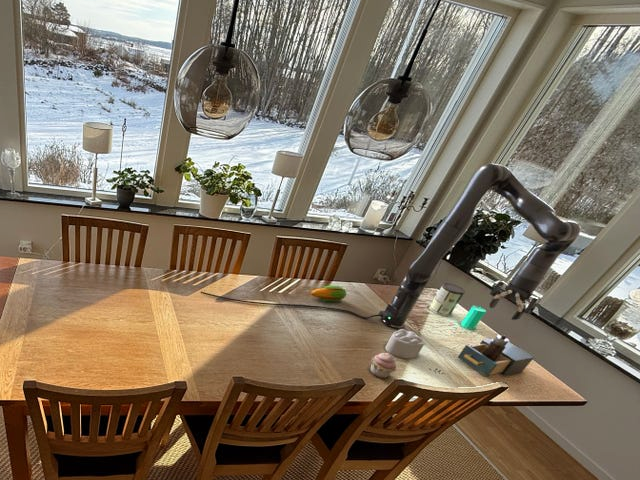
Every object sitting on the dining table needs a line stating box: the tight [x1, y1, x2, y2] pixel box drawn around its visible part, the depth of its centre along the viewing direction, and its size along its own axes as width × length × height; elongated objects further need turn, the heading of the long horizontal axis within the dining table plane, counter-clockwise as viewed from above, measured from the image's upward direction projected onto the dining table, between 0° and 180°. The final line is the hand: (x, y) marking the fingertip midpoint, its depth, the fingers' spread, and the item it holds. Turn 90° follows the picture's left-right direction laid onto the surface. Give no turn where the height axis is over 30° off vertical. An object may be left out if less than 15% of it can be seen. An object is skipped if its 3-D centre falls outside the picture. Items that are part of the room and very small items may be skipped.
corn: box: [310, 285, 347, 302], centre depth 203 cm, size 7×8×20 cm
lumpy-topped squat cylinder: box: [385, 328, 426, 359], centre depth 171 cm, size 10×13×9 cm
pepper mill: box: [482, 334, 510, 362], centre depth 167 cm, size 5×5×14 cm
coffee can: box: [428, 282, 466, 317], centre depth 207 cm, size 10×10×14 cm
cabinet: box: [479, 337, 535, 377], centre depth 172 cm, size 12×14×8 cm
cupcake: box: [370, 352, 397, 379], centre depth 155 cm, size 9×9×10 cm
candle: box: [460, 305, 487, 331], centre depth 197 cm, size 6×6×12 cm
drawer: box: [457, 343, 512, 378], centre depth 168 cm, size 16×13×7 cm
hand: (502, 313), depth 152 cm, fingers open, 8 cm apart
